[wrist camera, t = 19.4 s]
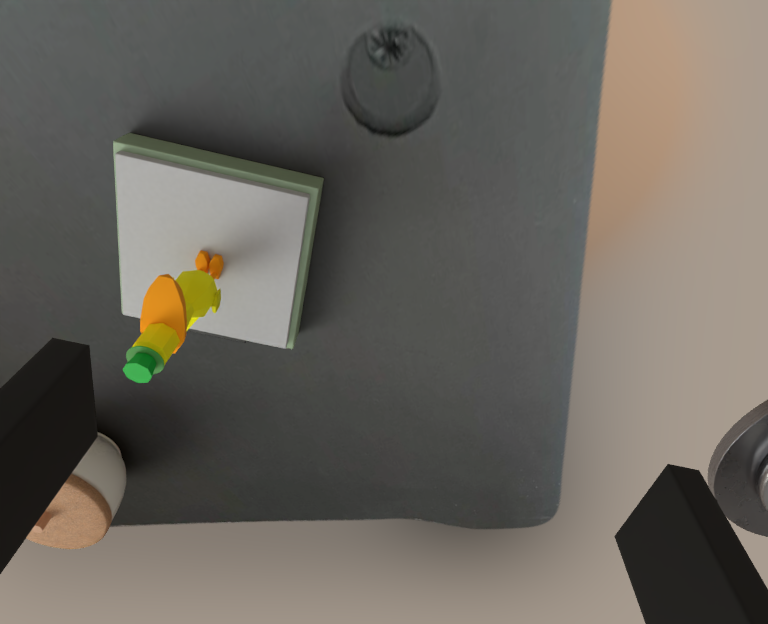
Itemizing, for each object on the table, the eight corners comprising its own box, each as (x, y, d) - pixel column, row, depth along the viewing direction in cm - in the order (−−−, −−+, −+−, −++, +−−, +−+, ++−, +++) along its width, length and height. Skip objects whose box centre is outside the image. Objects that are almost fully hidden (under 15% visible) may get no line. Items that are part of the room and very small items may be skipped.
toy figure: (189, 214, 37) (102, 302, 27) (240, 227, 37) (173, 318, 27) (184, 294, 40) (106, 399, 30) (231, 305, 41) (168, 413, 31)
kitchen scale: (324, 177, 38) (317, 192, 36) (297, 339, 46) (290, 362, 43) (128, 132, 37) (106, 143, 35) (135, 305, 45) (117, 326, 42)
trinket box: (34, 400, 52) (-36, 476, 44) (145, 425, 53) (96, 504, 45) (42, 472, 57) (-19, 551, 49) (142, 494, 58) (98, 575, 50)
